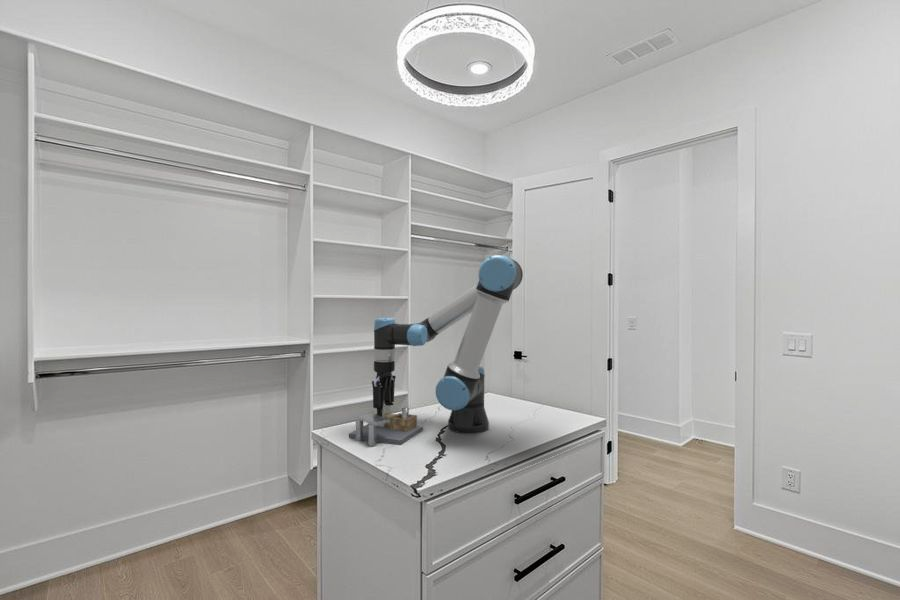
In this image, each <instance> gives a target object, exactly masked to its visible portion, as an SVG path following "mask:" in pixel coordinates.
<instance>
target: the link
mask: <svg viewBox="0 0 900 600" xmlns="http://www.w3.org/2000/svg"><path fill="white" fill-rule="evenodd" d="M372 413H373V414H376V415H377V411H372V412H370V413H369V414H372ZM385 418H388V419H390V422H388V423H385V426H384V427H389V428H390V429H392V430H400V431H410V430H411V429H413V428H415V427H416V426H418V425H417V424H418V415H417V414H410V413H409V418H407V419H405V418H402V412H400V413H390V414H389V413H385ZM367 424H368V425H370V424H369V423H367ZM376 426H377V425H376Z"/></svg>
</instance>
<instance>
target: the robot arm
mask: <svg viewBox="0 0 900 600" xmlns="http://www.w3.org/2000/svg"><path fill="white" fill-rule="evenodd" d="M523 274H524V273H523V269H522V266H521V265H520V264H519V262H518V261H516V260H514V259H512V258H510V257H509V256H506V255H503V254H502V255H501V254H496V255H491V256H489V257H487V258H486V259H484V260H483V262H481V264H480V266H479V269H478V282H477V283H476V284H475V285H474V286H472V287H471V288H469V289H468V290H467V291H465V292H463V293H462V294H461V295H459V296H457V297H456V298H454V299H453V300H452V301H450V302H449V303H448V304H445V305H444V306H443V307H441V308H439V310H437V311H435V312H434V313H432V314H431V315H429V316H428V317H427V318H425V319H424V320H421V322H418V323H396V319H395V318H394V317H378V318H375V319H374V325H373V340H374V341H373V343H374V344H373V345H374V346H373V354H374V355H373V359H374V362H373V371H374V372H375V373H376V376H375V380H372V381H371V385H372V405H373V406H372V407H373V408H374V409H376V412H377V415H379V416H382V417H385V413H389V414H391V406H393V405H394V402H395V386H396V385H395V382H396V375H392V374H393V373H392V372H394V371H395V367H396V364H395V363H396V362H395V361H394V360H395V359H396V357H395V356H396V350H395V349H396V348H395V347H396V346H398V345H399V346H412V347H417V346H418V347H421V346H424V345H426V343H428V342H431V341H433V340H434V339H436V337H437V336H438V335H439V334H441V333H443V332H444V331H446V330H447V329H448V328H450V327H452V326H453V325H455V324H456V323H458V322H460V321H461V320H463V319H464V318H465V317H467V316H469V315H470V317H469V320H468V322H467V325H466V328H465V331H464V333H463V336H462V339H461V342H460V344H459V347H458V349H457V352H456V355H455V357H454V358H455V359H454V360H453V361H451V362H449V363H448V364H447V367H446V369H445V372H444V374H443V376H442V378H440V379H439V381H437V384H436V385H435V397H436V399H437V401H438V403H439V404H440V406H442V407H443V408H445V410H448V411H451V412H450V415H449V416H448V417H449V418H448V422H447V428H448V430H450V431H451V432H455V433H460V434H478V433H479V434H480V433H484V432H486V431H489V429H490V423H489V421H490V420H489V418H488V415H487V412H486V409H485V376H486V375H485V369H484V367H483V366H480V365H481V363H482V360H483V359H484V355H485V352H486V350H487V347H488V344H489V341H490V338H491V336H492V333H493V331H494V329H495V325H496V324H497V320H498V317H499V315H500V312H501V309H502V308H503V307H502V306H504V304H506V303H508V302H509V301H510V300H511V299H510V298H511V296H512V293H513V291H514V290H515V289H517V288H518V287H519V286H520V284H521V283H522V281H523V277H524V275H523ZM377 426H380V427H384V426H385V423H384V424H379V425H377Z"/></svg>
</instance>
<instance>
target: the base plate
mask: <svg viewBox="0 0 900 600" xmlns="http://www.w3.org/2000/svg"><path fill="white" fill-rule="evenodd" d="M423 431H424V426H422V425H417V426H416V427H415V428H413V429H411V430H410V431H400V430H392V429H390V428H389V427H380V426H376V443H377V442H378V443H384V444H391V445H398V446H402V445H403V444H404V443H406V442H408V441H410V440H411V439H412V438H414V437H415V436H417V435H418V434H420V433H421V432H423ZM348 438H349V439H355V440H356V429H355V430H353V431H351V432H348ZM361 441H368V442H369V425H368V423H367V424H365V425H363V435H362V440H361Z"/></svg>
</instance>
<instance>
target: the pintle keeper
mask: <svg viewBox="0 0 900 600" xmlns="http://www.w3.org/2000/svg"><path fill="white" fill-rule="evenodd" d="M371 413H372V412H371ZM401 413H402V418H405V419H407V418H409V414H410V409H409V407H402V408H401ZM388 422H390V419H388V418H385V417H382V416H379V415H376V414H373V413H372V414H370V413H368V414H364V415H359V416H357V419H356V420H355V430H356V439H355V441H358V442H361V441H363V440H362V435H363V426H364V423H367V424H368V423H369V424H370V425H369V441H368V446H369V447H375V446H377V442H376V425H379V424H384V423H388Z"/></svg>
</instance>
